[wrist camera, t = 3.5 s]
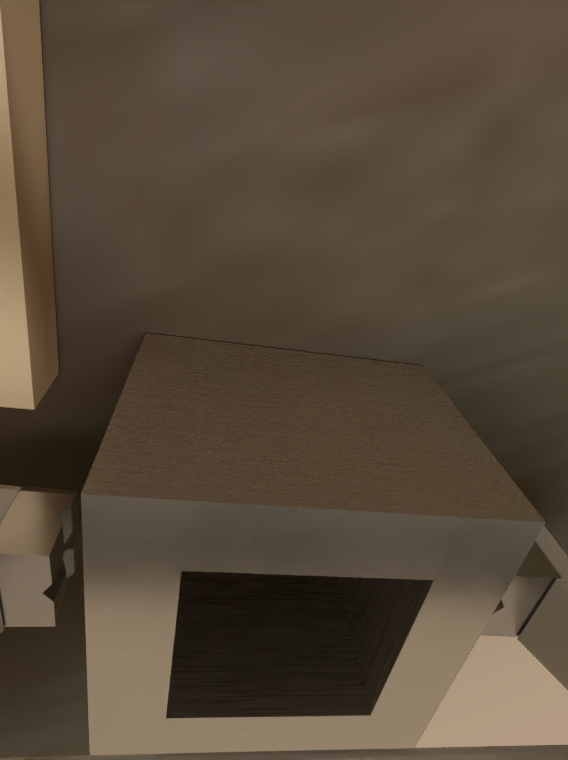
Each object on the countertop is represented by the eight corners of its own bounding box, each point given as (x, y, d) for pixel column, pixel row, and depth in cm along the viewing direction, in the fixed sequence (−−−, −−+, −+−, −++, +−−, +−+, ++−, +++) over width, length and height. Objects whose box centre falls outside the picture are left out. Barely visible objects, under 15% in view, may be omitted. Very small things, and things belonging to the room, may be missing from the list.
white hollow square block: (357, 554, 14) (413, 748, 10) (137, 544, 13) (90, 757, 9) (423, 365, 11) (545, 522, 7) (145, 332, 10) (80, 494, 6)
